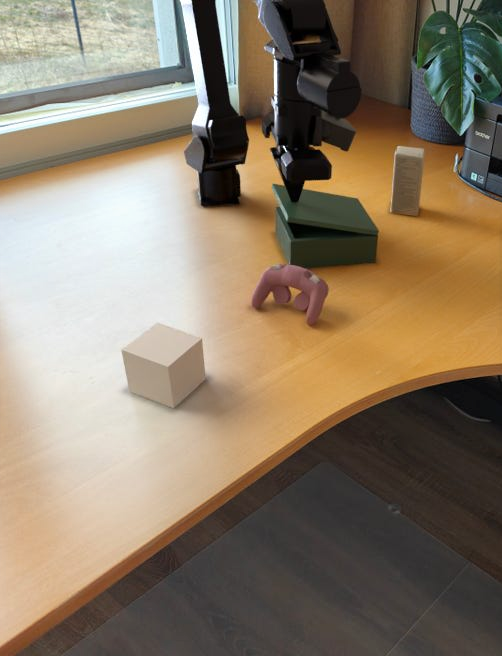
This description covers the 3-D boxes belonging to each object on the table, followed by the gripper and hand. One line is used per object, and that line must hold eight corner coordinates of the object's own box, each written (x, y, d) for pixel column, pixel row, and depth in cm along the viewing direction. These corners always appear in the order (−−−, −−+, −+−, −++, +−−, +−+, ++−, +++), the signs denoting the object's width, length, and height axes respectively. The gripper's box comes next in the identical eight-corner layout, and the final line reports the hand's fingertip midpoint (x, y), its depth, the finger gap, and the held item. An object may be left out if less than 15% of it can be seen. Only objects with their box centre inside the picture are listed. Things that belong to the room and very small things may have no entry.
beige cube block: (205, 378, 78) (202, 338, 75) (173, 408, 74) (168, 367, 70) (163, 362, 80) (157, 322, 76) (128, 391, 75) (121, 349, 71)
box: (419, 207, 123) (427, 148, 116) (417, 217, 119) (424, 157, 113) (391, 202, 123) (397, 144, 116) (388, 212, 119) (394, 152, 113)
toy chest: (290, 269, 100) (290, 241, 97) (275, 233, 108) (275, 206, 105) (375, 263, 105) (378, 235, 102) (355, 229, 113) (356, 203, 110)
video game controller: (324, 324, 92) (336, 276, 91) (311, 327, 88) (323, 276, 87) (261, 305, 94) (271, 257, 93) (246, 307, 90) (256, 256, 88)
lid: (286, 221, 95) (288, 216, 94) (271, 188, 103) (272, 183, 103) (377, 235, 102) (379, 231, 101) (356, 202, 110) (357, 198, 109)
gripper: (372, 118, 86) (363, 226, 96) (334, 75, 99) (330, 174, 109) (287, 118, 82) (287, 231, 92) (260, 73, 96) (262, 176, 105)
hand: (294, 201), depth 100 cm, fingers closed, pressing on lid
